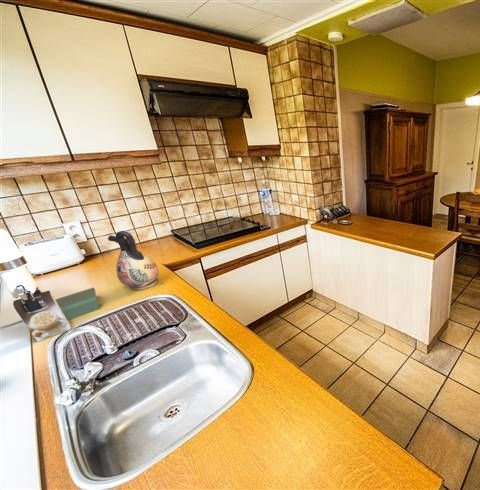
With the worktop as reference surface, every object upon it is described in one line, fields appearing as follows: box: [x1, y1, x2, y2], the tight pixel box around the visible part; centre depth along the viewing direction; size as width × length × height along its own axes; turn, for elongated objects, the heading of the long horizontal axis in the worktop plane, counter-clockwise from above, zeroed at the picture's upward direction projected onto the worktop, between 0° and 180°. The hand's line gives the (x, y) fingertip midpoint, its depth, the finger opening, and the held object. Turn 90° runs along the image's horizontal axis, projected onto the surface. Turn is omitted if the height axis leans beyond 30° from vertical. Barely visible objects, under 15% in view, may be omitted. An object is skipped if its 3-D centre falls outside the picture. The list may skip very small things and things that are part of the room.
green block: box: [54, 287, 101, 321], centre depth 114 cm, size 16×12×6 cm
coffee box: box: [12, 290, 72, 343], centre depth 100 cm, size 9×6×16 cm
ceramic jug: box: [107, 230, 159, 291], centre depth 127 cm, size 17×15×30 cm
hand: (37, 305), depth 98 cm, fingers open, 9 cm apart
